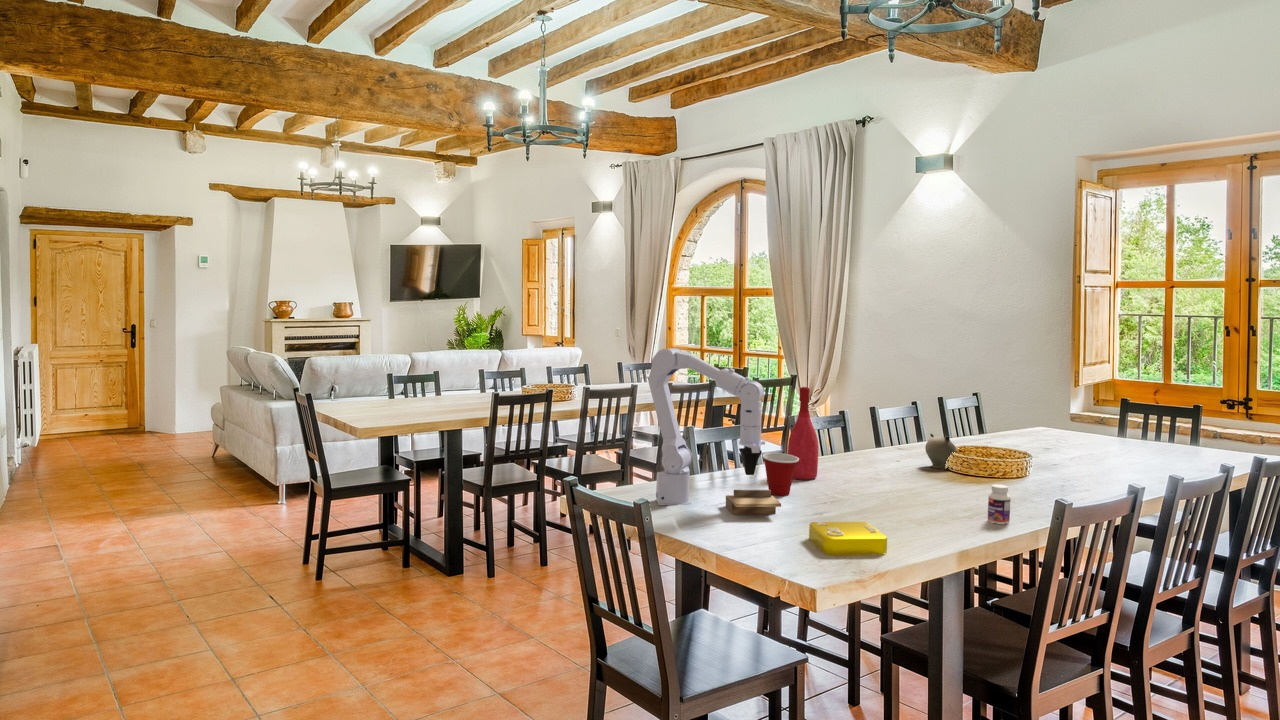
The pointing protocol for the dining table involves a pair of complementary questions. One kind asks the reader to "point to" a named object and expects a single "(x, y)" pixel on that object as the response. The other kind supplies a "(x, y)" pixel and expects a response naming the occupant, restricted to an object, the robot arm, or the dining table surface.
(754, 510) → the walnut box
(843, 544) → the element tile
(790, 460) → the plastic cup
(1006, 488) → the pill bottle
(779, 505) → the lid
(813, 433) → the wine bottle
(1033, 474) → the dining table surface
